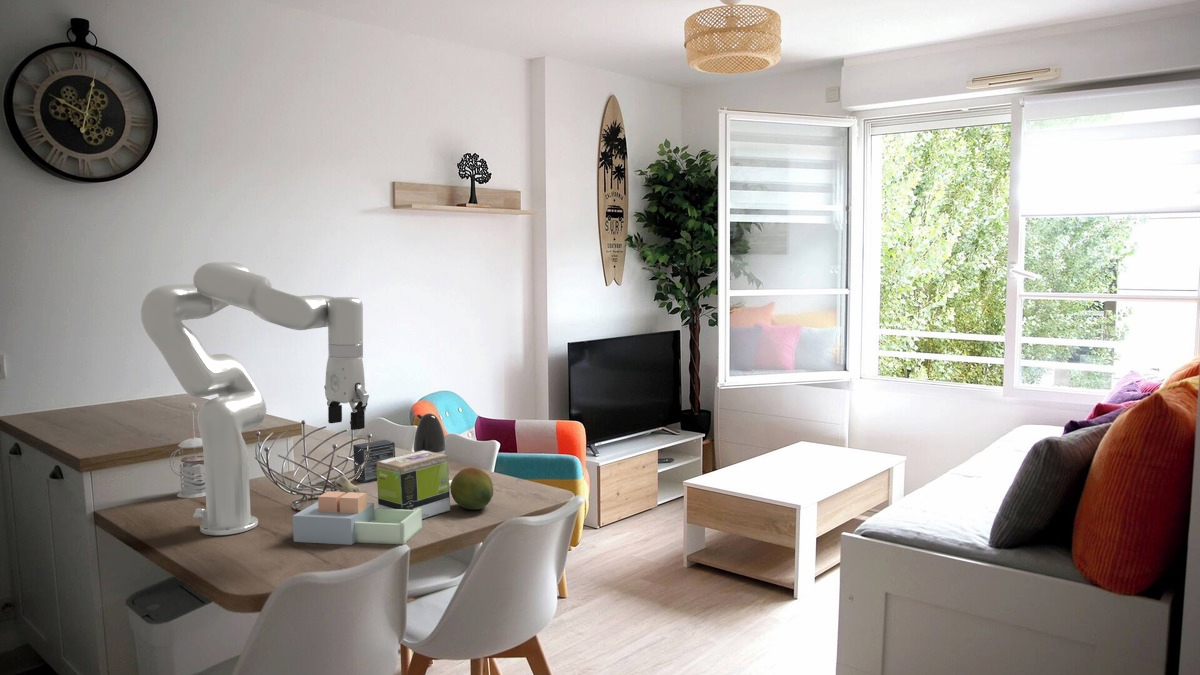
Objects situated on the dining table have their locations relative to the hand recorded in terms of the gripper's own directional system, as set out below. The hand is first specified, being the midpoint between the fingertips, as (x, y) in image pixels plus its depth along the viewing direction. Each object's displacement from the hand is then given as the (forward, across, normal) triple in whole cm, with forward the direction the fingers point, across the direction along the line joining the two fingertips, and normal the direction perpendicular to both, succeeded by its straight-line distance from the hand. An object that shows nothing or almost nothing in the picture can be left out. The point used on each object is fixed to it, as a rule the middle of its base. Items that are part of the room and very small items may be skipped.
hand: (346, 425), depth 186 cm
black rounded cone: (+26, -45, +56) cm, 76 cm away
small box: (+26, -39, +32) cm, 57 cm away
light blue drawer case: (+26, -2, -2) cm, 26 cm away
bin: (+25, +8, +6) cm, 27 cm away
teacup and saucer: (+26, -16, +39) cm, 50 cm away
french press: (+27, -63, -10) cm, 70 cm away
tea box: (+26, -1, +19) cm, 32 cm away
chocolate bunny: (+26, -15, +8) cm, 31 cm away
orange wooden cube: (+20, -2, -2) cm, 20 cm away
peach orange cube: (+20, +2, +1) cm, 20 cm away
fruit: (+25, +6, +33) cm, 42 cm away
